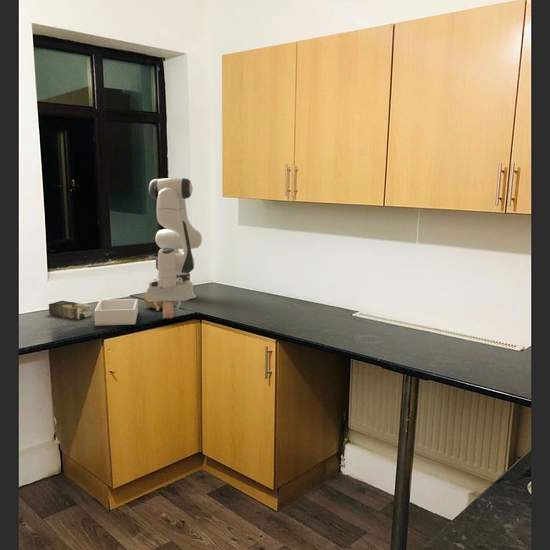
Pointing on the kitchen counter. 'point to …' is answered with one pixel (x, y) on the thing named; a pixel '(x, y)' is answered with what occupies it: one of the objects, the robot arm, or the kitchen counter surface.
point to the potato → (151, 304)
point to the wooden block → (168, 309)
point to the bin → (116, 312)
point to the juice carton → (70, 309)
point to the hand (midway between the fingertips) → (167, 309)
